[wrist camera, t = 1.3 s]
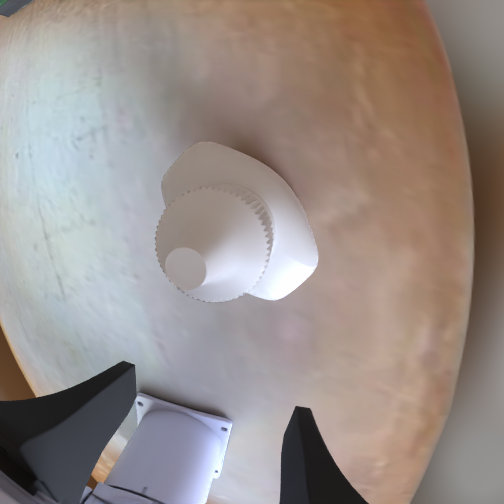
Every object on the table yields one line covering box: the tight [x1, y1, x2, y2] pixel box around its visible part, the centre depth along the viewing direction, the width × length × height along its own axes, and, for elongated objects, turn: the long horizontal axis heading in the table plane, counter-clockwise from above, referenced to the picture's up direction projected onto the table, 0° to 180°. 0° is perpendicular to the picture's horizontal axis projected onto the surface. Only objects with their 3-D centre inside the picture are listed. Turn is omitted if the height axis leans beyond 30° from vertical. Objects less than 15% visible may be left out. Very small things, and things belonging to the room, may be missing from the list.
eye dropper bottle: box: [155, 142, 318, 303], centre depth 10 cm, size 4×6×12 cm
